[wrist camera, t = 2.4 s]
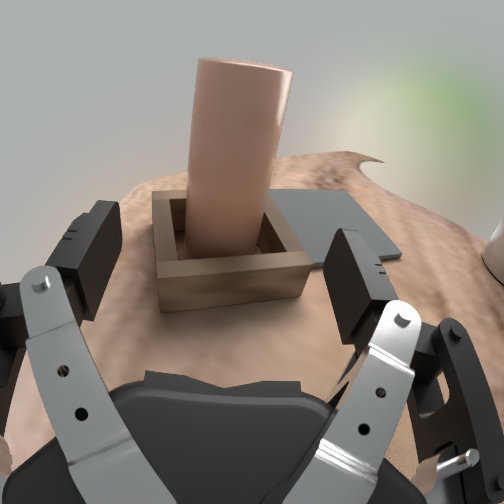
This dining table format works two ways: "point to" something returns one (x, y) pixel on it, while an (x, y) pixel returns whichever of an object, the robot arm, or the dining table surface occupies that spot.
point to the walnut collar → (225, 262)
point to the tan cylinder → (232, 154)
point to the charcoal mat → (329, 221)
